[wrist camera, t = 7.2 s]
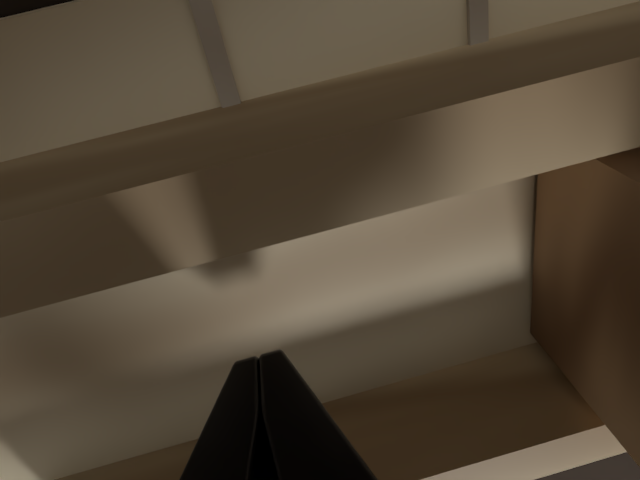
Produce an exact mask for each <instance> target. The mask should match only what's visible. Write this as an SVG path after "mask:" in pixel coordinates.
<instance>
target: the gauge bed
mask: <svg viewBox="0 0 640 480" xmlns="http://www.w3.org/2000/svg"><path fill="white" fill-rule="evenodd" d="M637 147H640V0H74V1H70V2H66V3H62V4H57V5H53V6H49V7H45V8H41V9H36V10H32V11H28V12H24V13H20V14H15V15H11V16H7V17H3V18H0V480H179V479H180V477H181V475H182V472H183V470H184V468H185V466H186V464H187V462H188V460H189V458H190V455H191V453H192V451H193V449H194V447H195V445H196V443H197V440H198V438H199V436H200V434H201V432H202V430H203V428H204V426H205V423H206V421H207V419H208V417H209V415H210V413H211V411H212V409H213V406H214V404H215V402H216V400H217V398H218V396H219V394H220V391H221V389H222V387H223V385H224V383H225V381H226V379H227V377H228V374H229V372H230V370H231V368H232V366H233V364H234V363H235V362H236V361H238V360H241V359H245V358H249V357H252V356H257V357H258V358H259V357H260V355H261V354H263V353H267V352H270V351H274V350H278V349H281V350H282V351H284V353H285V354H286V355H287V357H288V358H289V359H290V361H291V362H292V364H293V365H294V366H295V368H296V369H297V370H298V372H299V373H300V374H301V376H302V377H303V379H304V380H305V381H306V383H307V384H308V385H309V387H310V388H311V389H312V391H313V392H314V394H315V395H316V396H317V398H318V399H319V400H320V402H321V403H322V404H323V406H324V407H325V409H326V410H327V411H328V413H329V414H330V415H331V417H332V418H333V419H334V421H335V422H336V424H337V425H338V426H339V428H340V429H341V430H342V432H343V433H344V434H345V436H346V437H347V439H348V440H349V441H350V443H351V444H352V445H353V447H354V448H355V449H356V451H357V452H358V454H359V455H360V456H361V458H362V459H363V460H364V462H365V463H366V464H367V466H368V467H369V469H370V470H371V471H372V473H373V474H374V475H375V477H376V478H377V479H378V480H534V479H538V478H541V477H544V476H548V475H551V474H555V473H558V472H561V471H565V470H568V469H571V468H575V467H578V466H581V465H585V464H588V463H591V462H595V461H598V460H601V459H605V458H608V457H611V456H615V455H618V454H621V453H625V452H627V451H626V450H625V449H624V447H623V446H622V445H621V444H620V443H619V441H618V440H617V439H616V438H615V436H614V435H613V434H612V433H611V432H610V430H609V429H608V428H607V427H606V425H605V424H604V423H603V422H602V420H601V419H600V418H599V417H598V416H597V414H596V413H595V412H594V411H593V409H592V408H591V407H590V406H589V405H588V403H587V402H586V401H585V400H584V398H583V397H582V396H581V395H580V393H579V392H578V391H577V390H576V389H575V387H574V386H573V385H572V384H571V382H570V381H569V380H568V379H567V378H566V376H565V375H564V374H563V373H562V371H561V370H560V369H559V368H558V366H557V365H556V364H555V363H554V362H553V360H552V359H551V358H550V357H549V355H548V354H547V353H546V352H545V351H544V349H543V348H542V347H541V346H540V344H539V343H538V342H537V341H536V340H535V338H534V337H533V336H532V335H531V333H530V322H531V302H532V281H533V261H534V241H535V221H536V201H537V180H538V174H540V173H544V172H548V171H551V170H555V169H559V168H563V167H566V166H570V165H574V164H578V163H581V162H585V161H589V160H593V159H596V158H600V157H604V156H607V155H611V154H615V153H619V152H622V151H626V150H630V149H634V148H637Z"/></svg>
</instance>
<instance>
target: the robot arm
mask: <svg viewBox="0 0 640 480" xmlns="http://www.w3.org/2000/svg"><path fill="white" fill-rule="evenodd" d="M179 480H378V479H377V478H376V477H375V475H374V474H373V473H372V471H371V470H370V469H369V467H368V466H367V464H366V463H365V462H364V460H363V459H362V458H361V456H360V455H359V454H358V452H357V451H356V449H355V448H354V447H353V445H352V444H351V443H350V441H349V440H348V439H347V437H346V436H345V434H344V433H343V432H342V430H341V429H340V428H339V426H338V425H337V424H336V422H335V421H334V419H333V418H332V417H331V415H330V414H329V413H328V411H327V410H326V409H325V407H324V406H323V404H322V403H321V402H320V400H319V399H318V398H317V396H316V395H315V394H314V392H313V391H312V389H311V388H310V387H309V385H308V384H307V383H306V381H305V380H304V379H303V377H302V376H301V374H300V373H299V372H298V370H297V369H296V368H295V366H294V365H293V364H292V362H291V361H290V359H289V358H288V357H287V355H286V354H285V353H284V351H282V350H281V349H278V350H274V351H270V352H267V353H263V354H261V355H260V357H259V358H258V357H257V356H252V357H249V358H245V359H241V360H238V361H236V362H235V363H234V364H233V366H232V368H231V370H230V372H229V374H228V377H227V379H226V381H225V383H224V385H223V387H222V389H221V391H220V394H219V396H218V398H217V400H216V402H215V404H214V406H213V409H212V411H211V413H210V415H209V417H208V419H207V421H206V423H205V426H204V428H203V430H202V432H201V434H200V436H199V438H198V440H197V443H196V445H195V447H194V449H193V451H192V453H191V455H190V458H189V460H188V462H187V464H186V466H185V468H184V470H183V472H182V475H181V477H180V479H179Z"/></svg>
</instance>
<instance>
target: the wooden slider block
mask: <svg viewBox="0 0 640 480" xmlns="http://www.w3.org/2000/svg"><path fill="white" fill-rule="evenodd" d="M530 333H531V335H532V336H533V337H534V338H535V340H536V341H537V342H538V343H539V344H540V346H541V347H542V348H543V349H544V351H545V352H546V353H547V354H548V355H549V357H550V358H551V359H552V360H553V362H554V363H555V364H556V365H557V366H558V368H559V369H560V370H561V371H562V373H563V374H564V375H565V376H566V378H567V379H568V380H569V381H570V382H571V384H572V385H573V386H574V387H575V389H576V390H577V391H578V392H579V393H580V395H581V396H582V397H583V398H584V400H585V401H586V402H587V403H588V405H589V406H590V407H591V408H592V409H593V411H594V412H595V413H596V414H597V416H598V417H599V418H600V419H601V420H602V422H603V423H604V424H605V425H606V427H607V428H608V429H609V430H610V432H611V433H612V434H613V435H614V436H615V438H616V439H617V440H618V441H619V443H620V444H621V445H622V446H623V447H624V449H625V450H626V451H627V452H628V454H629V455H630V456H631V457H632V459H633V460H634V461H635V462H636V463H637V465H638V466H639V467H640V147H637V148H634V149H630V150H626V151H622V152H619V153H615V154H611V155H607V156H604V157H600V158H596V159H593V160H589V161H585V162H581V163H578V164H574V165H570V166H566V167H563V168H559V169H555V170H551V171H548V172H544V173H540V174H538V180H537V201H536V221H535V241H534V261H533V281H532V302H531V322H530Z"/></svg>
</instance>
